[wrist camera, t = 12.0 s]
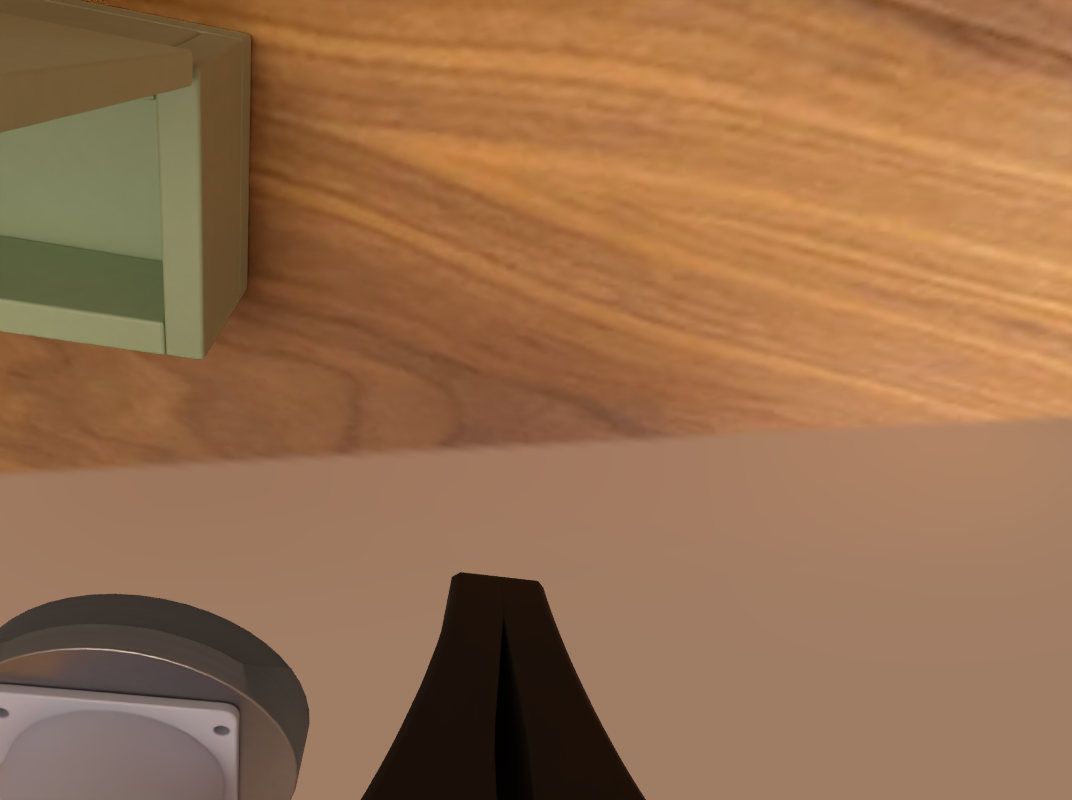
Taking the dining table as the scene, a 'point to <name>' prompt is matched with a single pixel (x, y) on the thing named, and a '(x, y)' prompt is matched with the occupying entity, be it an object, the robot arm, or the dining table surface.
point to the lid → (78, 70)
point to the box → (131, 199)
